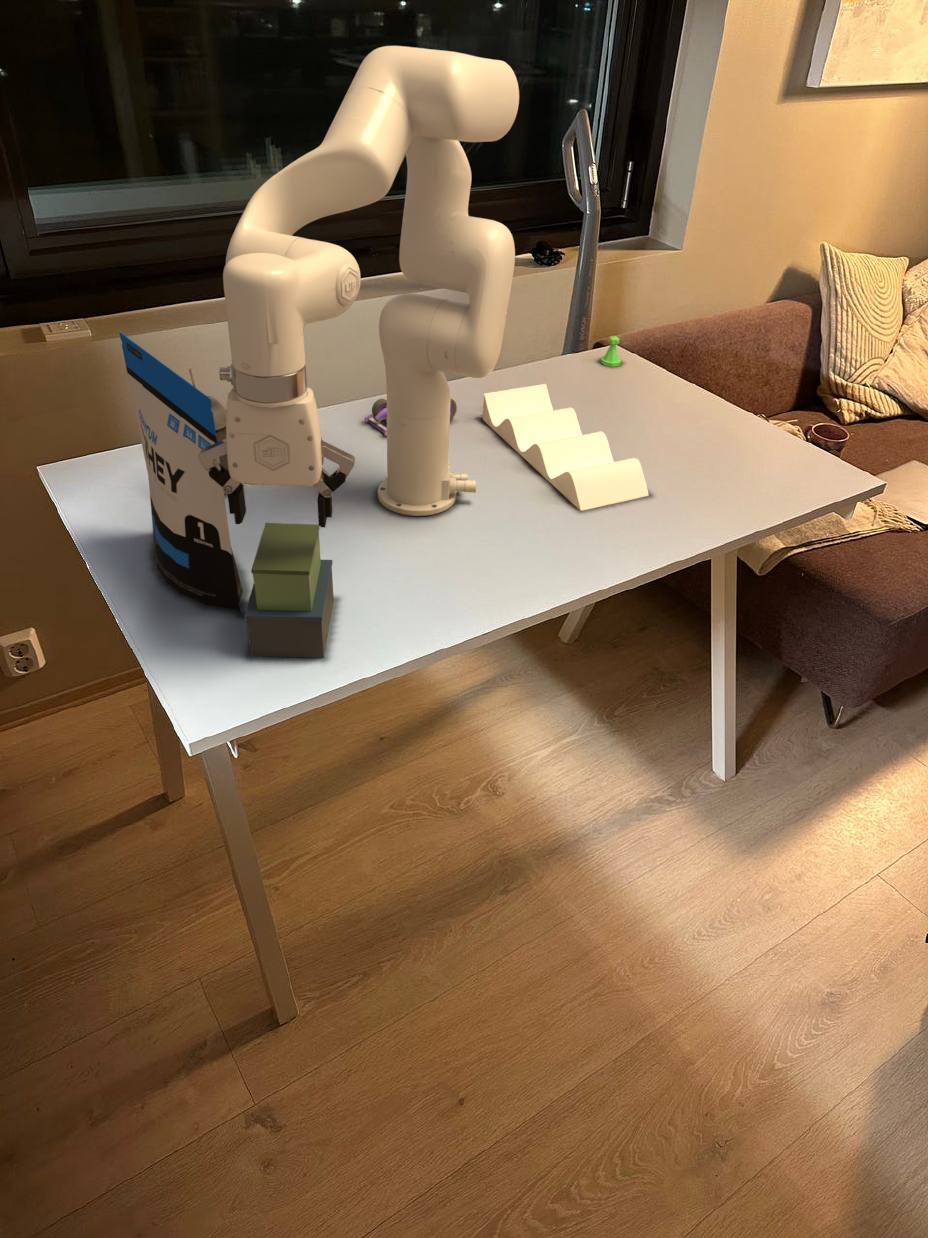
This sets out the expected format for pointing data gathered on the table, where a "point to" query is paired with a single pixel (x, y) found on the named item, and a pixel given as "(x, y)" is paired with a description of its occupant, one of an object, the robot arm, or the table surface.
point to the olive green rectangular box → (287, 567)
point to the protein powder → (182, 483)
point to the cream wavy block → (562, 448)
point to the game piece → (611, 353)
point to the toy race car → (381, 414)
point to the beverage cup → (217, 421)
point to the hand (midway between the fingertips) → (282, 519)
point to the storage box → (293, 624)
